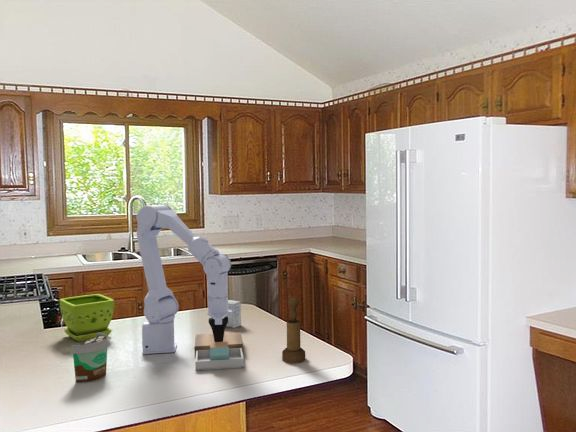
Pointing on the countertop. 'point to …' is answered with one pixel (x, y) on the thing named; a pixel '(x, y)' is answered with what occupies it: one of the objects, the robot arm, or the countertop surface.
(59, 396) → the countertop surface
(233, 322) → the medicine box
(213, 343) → the terracotta tile
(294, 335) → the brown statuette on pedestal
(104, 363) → the food container
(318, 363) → the countertop surface
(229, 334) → the walnut board
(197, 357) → the tray
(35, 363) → the countertop surface
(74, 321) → the flower pot
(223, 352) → the teal tile
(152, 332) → the robot arm
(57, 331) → the countertop surface
